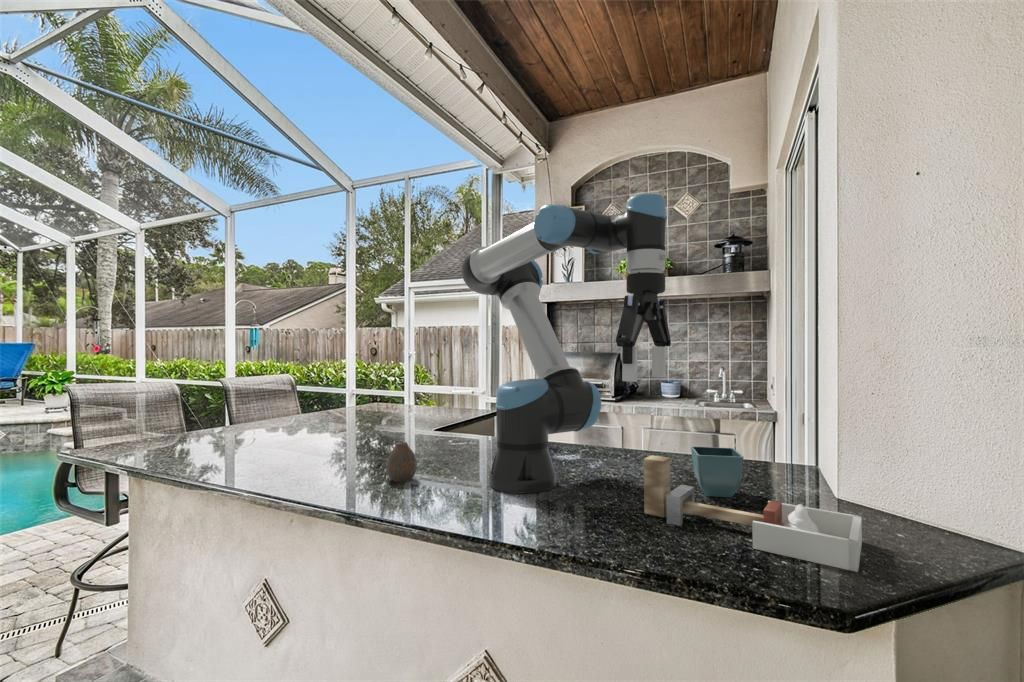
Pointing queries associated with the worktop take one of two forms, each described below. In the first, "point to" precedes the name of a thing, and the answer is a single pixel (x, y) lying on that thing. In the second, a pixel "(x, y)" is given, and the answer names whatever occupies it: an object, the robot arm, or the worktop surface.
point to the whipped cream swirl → (800, 520)
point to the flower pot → (717, 470)
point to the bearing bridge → (678, 504)
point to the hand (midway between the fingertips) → (644, 379)
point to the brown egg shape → (401, 463)
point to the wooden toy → (660, 486)
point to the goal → (814, 538)
